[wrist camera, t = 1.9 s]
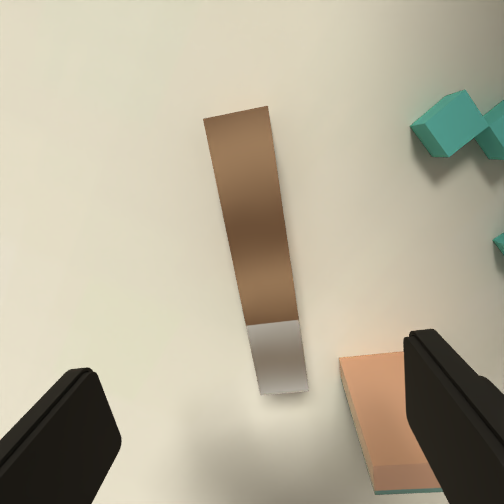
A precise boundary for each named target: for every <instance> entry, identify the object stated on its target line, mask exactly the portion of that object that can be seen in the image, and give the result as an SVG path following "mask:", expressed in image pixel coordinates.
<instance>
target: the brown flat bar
mask: <svg viewBox="0 0 504 504" xmlns="http://www.w3.org/2000/svg"><path fill="white" fill-rule="evenodd" d="M203 121H204V126H205V130H206V135H207V140H208V145H209V150H210V155H211V159H212V164H213V169H214V174H215V179H216V183H217V188H218V193H219V198H220V203H221V207H222V212H223V217H224V222H225V227H226V231H227V236H228V241H229V246H230V251H231V256H232V260H233V265H234V270H235V275H236V280H237V284H238V289H239V294H240V299H241V304H242V308H243V313H244V318H245V323H246V328H247V332H248V337H249V342H250V347H251V352H252V357H253V361H254V366H255V371H256V376H257V381H258V385H259V390H260V395H271V394H283V393H294V392H306V391H309V386H308V379H307V373H306V366H305V359H304V352H303V345H302V338H301V331H300V324H299V317H298V311H297V304H296V297H295V290H294V283H293V276H292V269H291V262H290V255H289V249H288V242H287V235H286V228H285V221H284V214H283V207H282V200H281V193H280V187H279V180H278V173H277V166H276V159H275V152H274V145H273V138H272V131H271V125H270V118H269V111H268V106H264V107H259V108H254V109H250V110H245V111H240V112H235V113H230V114H225V115H220V116H215V117H210V118H206V119H203Z"/></svg>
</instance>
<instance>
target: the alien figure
mask: <svg viewBox="0 0 504 504" xmlns="http://www.w3.org/2000/svg"><path fill="white" fill-rule="evenodd" d="M410 127H411V128H412V130H413V131H414V133H415V134H416V135H417V137H418V138H419V139H420V141H421V142H422V144H423V145H424V146H425V148H426V149H427V150H428V152H429V153H430V155H431V156H432V157H450V156H451V155H452V154H454V153H455V152H456V151H458V150H459V149H460V148H461V147H463V146H464V145H465V144H467V143H468V142H469V141H470V140H472V139H473V138H475V140H476V141H477V143H478V144H479V146H480V147H481V149H482V150H483V151H484V153H485V154H486V156H487V157H488V159H499V160H504V100H503V101H501V102H500V103H499V104H498V105H496V106H495V107H494V108H493V109H491V110H490V111H489V112H488V113H486V114H485V115H484V116H482V114H481V113H480V111H479V110H478V108H477V107H476V105H475V104H474V102H473V101H472V99H471V97H470V96H469V94H468V93H467V91H466V90H462V91H459V92H456V93H453V94H450V95H447V96H445V97H444V98H442V99H441V100H440V101H439V102H438V103H437V104H435V105H434V106H433V107H432V108H431V109H429V110H428V111H427V112H426V113H425V114H424V115H422V116H421V117H420V118H419V119H418V120H416V121H415V122H414V123H413V124H412V125H410ZM493 241H494V243H495V244H496V245H497V247H498V248H499V249H500V251H501V252H502V254H503V255H504V233H502V234H501V235H499V236H498V237H496V238H495V239H493Z"/></svg>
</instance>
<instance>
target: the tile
mask: <svg viewBox="0 0 504 504" xmlns="http://www.w3.org/2000/svg"><path fill="white" fill-rule="evenodd" d="M339 363H340V373H341V381H342V384H343V387H344V391H345V394H346V398H347V401H348V405H349V408H350V411H351V415H352V418H353V422H354V425H355V428H356V432H357V435H358V439H359V442H360V445H361V449H362V452H363V456H364V459H365V462H366V466H367V469H368V473H369V476H370V479H371V483H372V486H373V490H374V493H375V495H384V494H407V493H430V492H443V490H442V488H441V486H440V484H439V482H438V481H437V479H436V477H435V475H434V473H433V471H432V469H431V467H430V465H429V463H428V461H427V459H426V457H425V455H424V453H423V451H422V450H421V448H420V446H419V444H418V442H417V440H416V438H415V436H414V434H413V432H412V430H411V428H410V426H409V423H408V420H407V416H406V402H405V373H404V351H403V352H393V353H383V354H373V355H363V356H353V357H343V358H339Z"/></svg>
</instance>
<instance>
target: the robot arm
mask: <svg viewBox="0 0 504 504" xmlns="http://www.w3.org/2000/svg"><path fill="white" fill-rule="evenodd" d="M403 344H404V373H405V402H406V416H407V420H408V423H409V426H410V428H411V430H412V432H413V434H414V436H415V438H416V440H417V442H418V444H419V446H420V448H421V450H422V451H423V453H424V455H425V457H426V459H427V461H428V463H429V465H430V467H431V469H432V471H433V473H434V475H435V477H436V479H437V481H438V482H439V484H440V486H441V488H442V490H443V492H444V494H445V496H446V498H447V500H448V502H449V504H504V394H503V393H502V392H501V391H500V390H499V389H498V388H497V387H496V386H495V385H494V384H493V383H492V382H491V381H489V380H488V379H487V378H485V377H483V376H478V374H477V373H476V372H475V371H474V370H473V369H472V368H471V367H470V366H469V365H468V364H467V363H466V362H465V361H464V360H463V359H462V358H461V357H460V356H459V355H458V354H457V353H456V351H455V350H454V349H453V348H452V347H451V346H450V345H449V344H448V343H447V342H446V341H445V340H444V339H443V338H442V337H441V336H440V335H439V334H438V333H437V332H436V331H435V330H434V329H425V330H416V331H411V332H410V334H409V337H405V338H404V341H403ZM120 447H121V435H120V432H119V430H118V427H117V425H116V422H115V419H114V417H113V414H112V411H111V409H110V406H109V404H108V401H107V398H106V396H105V393H104V391H103V388H102V385H101V383H100V380H99V377H98V375H97V373H95V372H93V371H92V369H90V368H78V369H71V370H68V371H67V372H66V373H65V374H64V375H63V376H62V377H61V378H60V379H59V380H58V381H57V382H56V383H55V384H54V385H53V386H52V387H51V388H50V389H49V390H48V391H47V392H46V393H45V394H44V395H43V396H42V397H41V399H40V400H39V401H38V402H37V403H36V404H35V405H34V406H33V407H32V408H31V409H30V410H29V411H28V412H27V413H26V414H25V415H24V416H23V417H22V418H21V419H20V420H19V421H18V422H17V423H16V424H15V425H14V426H13V427H12V429H11V430H10V431H9V432H8V433H7V434H6V435H5V436H4V437H3V438H2V439H1V440H0V504H92V502H93V500H94V498H95V496H96V494H97V492H98V490H99V488H100V486H101V485H102V483H103V481H104V479H105V477H106V475H107V473H108V471H109V469H110V467H111V465H112V464H113V462H114V460H115V458H116V456H117V454H118V452H119V450H120Z"/></svg>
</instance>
